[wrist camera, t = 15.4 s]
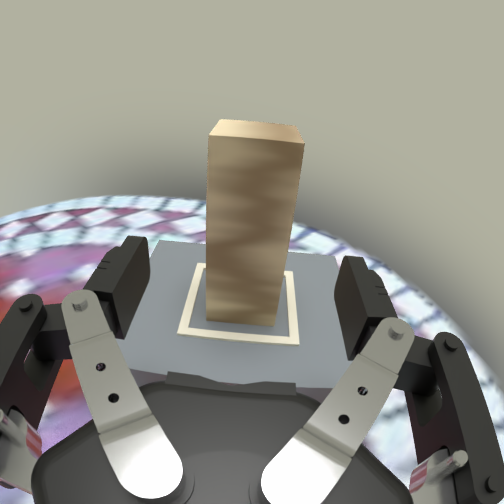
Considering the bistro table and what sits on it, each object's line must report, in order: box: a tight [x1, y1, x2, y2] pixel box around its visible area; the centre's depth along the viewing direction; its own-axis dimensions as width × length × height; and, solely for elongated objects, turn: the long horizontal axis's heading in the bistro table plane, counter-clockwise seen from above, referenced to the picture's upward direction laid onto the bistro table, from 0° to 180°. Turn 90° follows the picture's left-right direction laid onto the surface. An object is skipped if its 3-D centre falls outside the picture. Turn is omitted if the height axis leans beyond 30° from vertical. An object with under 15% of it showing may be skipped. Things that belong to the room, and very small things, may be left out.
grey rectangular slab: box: [115, 240, 353, 404], centre depth 23 cm, size 16×14×2 cm
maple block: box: [206, 119, 305, 326], centre depth 19 cm, size 4×4×12 cm
